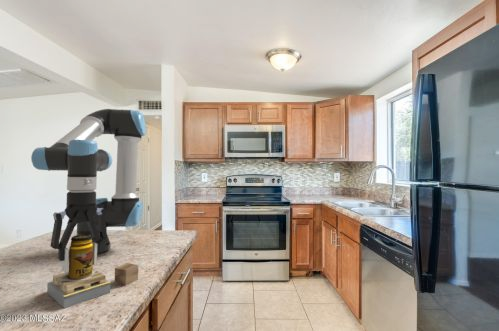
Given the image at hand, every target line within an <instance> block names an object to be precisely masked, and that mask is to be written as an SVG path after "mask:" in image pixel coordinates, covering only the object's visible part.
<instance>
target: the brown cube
mask: <svg viewBox="0 0 499 331" xmlns="http://www.w3.org/2000/svg"><path fill="white" fill-rule="evenodd" d="M138 280H139V264H135V263H129V262H126V263H124V264H121V265H119V266H117V267H114V284H117V285H121V286H129V285H130V284H133V283H134V282H137V281H138Z"/></svg>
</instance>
